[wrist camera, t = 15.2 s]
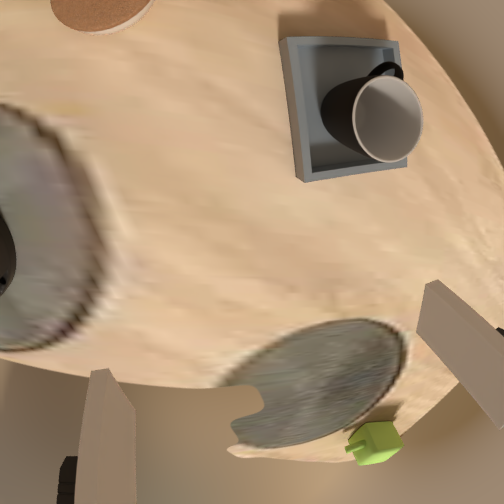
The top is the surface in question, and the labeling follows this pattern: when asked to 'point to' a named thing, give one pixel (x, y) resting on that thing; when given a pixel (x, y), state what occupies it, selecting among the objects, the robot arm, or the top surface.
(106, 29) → the lidded jar
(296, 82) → the gray tray
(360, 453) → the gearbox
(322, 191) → the top surface
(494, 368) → the robot arm
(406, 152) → the mug
